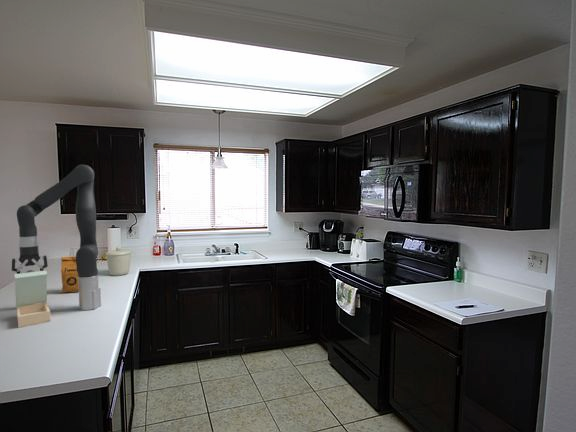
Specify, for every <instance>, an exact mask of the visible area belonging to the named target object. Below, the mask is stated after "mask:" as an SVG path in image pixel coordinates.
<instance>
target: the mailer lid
mask: <svg viewBox="0 0 576 432" xmlns="http://www.w3.org/2000/svg"><path fill="white" fill-rule="evenodd" d="M47 277H48V272H47V269H45V270H43V271H40V270H39V271H35V270H33V269H29V270H26V272H23V273H21V272H20V274H17V273H14V289H15V291H14V292H15V307H16V308H17V307H19V306H25V305H31V304H38V303H44V302H47V303H48V297H47V296H48V290H47V289H48V288H47V287H48V284H47V283H48V280H47V279H48V278H47Z"/></svg>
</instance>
